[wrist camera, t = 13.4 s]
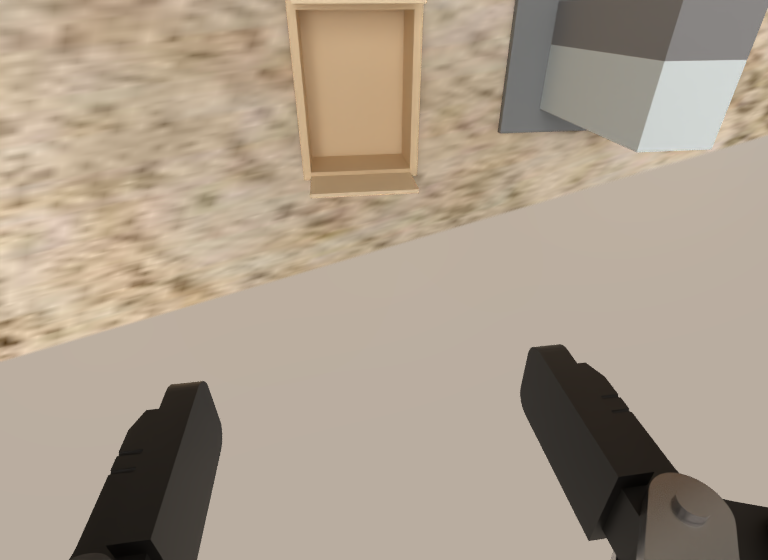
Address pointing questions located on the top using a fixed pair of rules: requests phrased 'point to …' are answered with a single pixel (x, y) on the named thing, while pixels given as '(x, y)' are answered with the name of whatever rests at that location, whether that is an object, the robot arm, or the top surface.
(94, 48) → the top surface
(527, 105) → the mat
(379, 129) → the carton
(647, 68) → the box
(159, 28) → the top surface
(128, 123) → the top surface
